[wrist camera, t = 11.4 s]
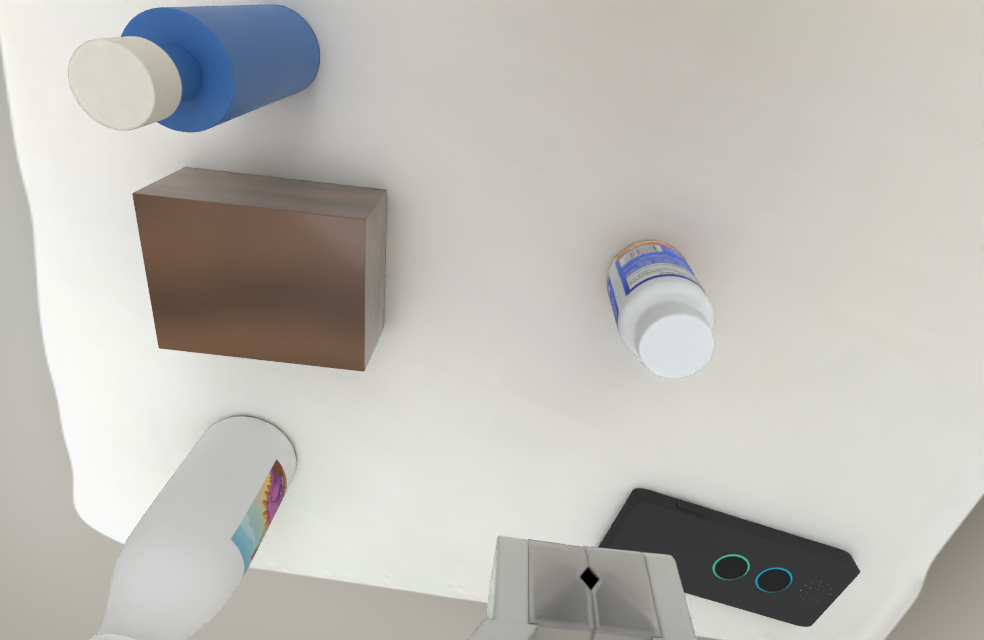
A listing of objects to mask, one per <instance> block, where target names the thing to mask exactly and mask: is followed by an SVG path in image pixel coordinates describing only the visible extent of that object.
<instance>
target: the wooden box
mask: <svg viewBox="0 0 984 640" xmlns="http://www.w3.org/2000/svg"><path fill="white" fill-rule="evenodd" d="M133 200H134V206H135V211H136V217H137V223H138V229H139V235H140V241H141V247H142V252H143V258H144V264H145V270H146V276H147V282H148V288H149V293H150V299H151V305H152V311H153V317H154V323H155V329H156V334H157V340H158V346H159V348H161V349H170V350H179V351H188V352H197V353H205V354H214V355H223V356H232V357H241V358H250V359H258V360H267V361H276V362H285V363H294V364H303V365H311V366H320V367H329V368H338V369H347V370H356V371H365V369H366V367H367V364H368V362H369V360H370V357H371V355H372V353H373V351H374V348H375V346H376V344H377V341H378V339H379V337H380V334H381V332H382V330H383V328H384V301H385V258H386V215H387V190H381V189H372V188H363V187H355V186H346V185H337V184H328V183H320V182H311V181H302V180H293V179H284V178H276V177H267V176H258V175H249V174H240V173H232V172H223V171H214V170H205V169H196V168H188V167H185V168H183V169H181V170H179V171H177V172H174V173H172V174H170V175H168V176H166V177H164V178H162V179H160V180H158V181H156V182H154V183H152V184H150V185H148V186H146V187H144V188H142V189H140V190H138V191H136V192H134V193H133Z"/></svg>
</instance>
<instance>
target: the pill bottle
mask: <svg viewBox="0 0 984 640" xmlns="http://www.w3.org/2000/svg"><path fill="white" fill-rule="evenodd" d="M607 290H608V294H609V298H610V301H611V305H612V309H613V312H614V316H615V320H616V323H617V327H618V331H619V334H620V337H621V339H622V342H623V343H624V345H625V346H626V348H627V349H628V350H629V351H630V352H631V353H632V354H633V355H634V356H636V357H637V358H639V359H640V360H641V362H642V363H643V365H644V366H645V367H646V368H647V369H648V370H649V371H650V372H652V373H653V374H655V375H657V376H660V377H664V378H682V377H686V376H689V375H691V374H693V373H695V372H697V371H699V370H700V369H701V368H702V367H703V366H704V365H705V364H706V363H707V362H708V361H709V359H710V358H711V356H712V353H713V350H714V336H713V333H712V332H713V329H714V324H715V316H714V310H713V306H712V304H711V302H710V300H709V298H708V296H707V295H706V293H705V292H704V290H703V288H702V287H701V285H700V283H699V282H698V280H697V279H696V277H695V275H694V274H693V272H692V270H691V269H690V267H689V265H688V264H687V262H686V260H685V259H684V257H683V256H682V255H681V254H680V253H679V252H678V251H677V250H676V249H675V248H673V247H672V246H670V245H668V244H666V243H663V242H659V241H642V242H638V243H635V244H633V245H631V246H629V247H627V248H626V249H624V250H623V251H622V252H621V253H620V254H619V255H618V256H617V257H616V258H615V259H614V261H613V262H612V264H611V266H610V268H609V271H608V275H607Z"/></svg>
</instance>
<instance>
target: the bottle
mask: <svg viewBox="0 0 984 640" xmlns="http://www.w3.org/2000/svg"><path fill="white" fill-rule="evenodd" d="M319 63H320V51H319V45H318V42H317V39H316V36H315V34H314V32H313V30H312V29H311V27H310V26H309V24H308V23H307V22H306V21H305V20H304V19H303V18H302V17H301V16H300V15H299V14H298V13H296V12H295V11H293V10H291V9H289V8H287V7H284V6H280V5H240V6H200V7H161V8H153V9H149V10H146V11H144V12H142V13H140V14H138V15H137V16H135V17H134V18H133V19H132V20H131V21H130V22H129V23H128V25H127V26H126V28H125V29H124V31H123V33H122V35H121V37H115V38H105V39H95V40H90V41H87V42H85V43H83V44H82V45H80V46H79V47H78V48H77V49H76V50H75V52H74V53H73V55H72V57H71V59H70V63H69V68H68V77H69V83H70V86H71V89H72V92H73V94H74V96H75V98H76V100H77V102H78V103H79V105H80V106H81V107H82V109H83V110H84V111H85V112H86V113H87V114H88V115H89V116H90V117H91V118H93V119H94V120H95V121H97V122H98V123H100V124H102V125H104V126H106V127H109V128H112V129H116V130H125V131H126V130H133V129H136V128H139V127H142V126H145V125H148V124H151V123H154V122H158V123H159V124H161V125H163V126H165V127H168V128H170V129H173V130H177V131H182V132H199V131H203V130H207V129H209V128H211V127H214V126H216V125H219V124H221V123H224V122H226V121H228V120H231V119H233V118H236V117H238V116H241V115H243V114H246V113H248V112H250V111H253V110H255V109H258V108H260V107H263V106H265V105H268V104H270V103H272V102H275V101H277V100H280V99H282V98H285V97H287V96H290V95H292V94H294V93H297V92H299V91H301V90H303V89H305V88H306V87H307V86H308V85H309V84H310V83H311V82H312V81H313V79H314V78H315V76H316V74H317V71H318V68H319Z"/></svg>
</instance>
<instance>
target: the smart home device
mask: <svg viewBox="0 0 984 640" xmlns="http://www.w3.org/2000/svg"><path fill="white" fill-rule="evenodd" d="M599 548H607V549H617V550H627V551H637V552H640V553H642V552H645V553H655V554H665V555H671V556H672V557H673V558H674V560H675V562H676V565H677V569H678V573H679V576H680V580H681V584H682V587H683V591H684V593H688V594H691V595H695V596H698V597H702V598H705V599H708V600H712V601H715V602H719V603H722V604H726V605H729V606H732V607H736V608H739V609H743V610H746V611H749V612H753V613H756V614H760V615H763V616H767V617H770V618H773V619H777V620H780V621H784V622H787V623H790V624H794V625H798V626H804V627H808V626H811V625H812V624H813V623H814V622H815V621H816V620H817V619H818V618H819V617H820V616H821V615H822V614H823V612H824V611H825V610H826V609H827V608H828V607H829V606H830V605H831V604H832V603H833V602H834V601H835V599H836V598H837V597H838V596H839V595H840V594H841V593H842V592H843V591H844V590H845V589H846V587H847V586H848V585H849V584H850V583H851V582H852V581H853V580H854V579H855V578H856V577H857V575H858V574H859V573H860V570H859V569H858V567H857V565H856V563H855V562H854V560H853V558H852V556H851V555H850V554H849V553H847V552H845V551H843V550H840V549H836V548H833V547H830V546H827V545H824V544H820V543H817V542H814V541H811V540H807V539H804V538H801V537H798V536H795V535H791V534H788V533H785V532H782V531H778V530H775V529H772V528H769V527H765V526H762V525H759V524H756V523H753V522H749V521H746V520H743V519H740V518H736V517H733V516H730V515H727V514H724V513H720V512H717V511H714V510H711V509H707V508H704V507H701V506H698V505H695V504H691V503H688V502H685V501H682V500H678V499H675V498H672V497H669V496H666V495H662V494H659V493H656V492H653V491H649V490H645V489H635V490H633V492H632V493H631V495H630V497H629V498H628V500H627V502H626V503H625V505H624V507H623V508H622V510H621V511H620V513H619V515H618V516H617V518H616V520H615V521H614V523H613V525H612V526H611V528H610V530H609V531H608V533H607V534H606V536H605V538H604V539H603V541H602V543H601V544H600V546H599Z"/></svg>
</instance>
